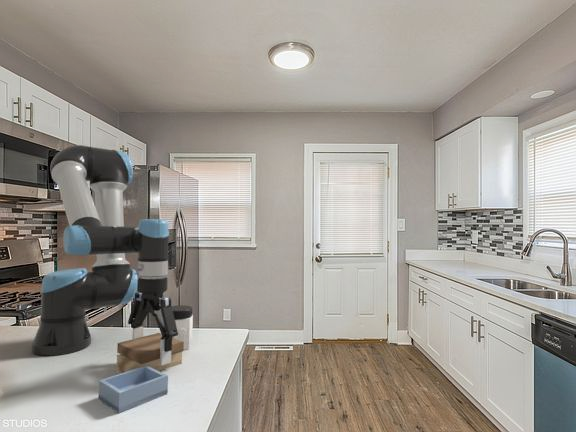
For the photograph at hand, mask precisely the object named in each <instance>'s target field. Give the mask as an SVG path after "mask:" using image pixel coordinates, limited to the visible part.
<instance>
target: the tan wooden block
mask: <svg viewBox="0 0 576 432" xmlns="http://www.w3.org/2000/svg"><path fill="white" fill-rule="evenodd" d="M181 364H183V352H179V353H176V354H173V355H171V363H167V364H164V365H160V359H157V360H154V361H151V362H147V363H144V364H139V363H137V362H135V361H133V360H131V359H129V358H127V357H125V356H123V355H121V354H118V355H116V372H117V373H119V374H121V373H124V372H127V371H130V370H134V369H137V368H140V367H143V366H146V365H147V366H149V367H151V368H153V369H155V370H157V371H159V372H162V371H163V370H167V369H168V368H169V369H170V368H172V367H176V366H178V365H181Z"/></svg>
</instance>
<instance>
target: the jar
mask: <svg viewBox="0 0 576 432" xmlns="http://www.w3.org/2000/svg"><path fill="white" fill-rule="evenodd" d="M171 307H172V311H173V315H174V319H175V323H176V327H177V331H178V335H177V336H174V337H172V338H175V339H177V340H180V341H183V342H184V351H187V350H190V349H191V346H192V345H193V327H194V324H193V320H194V314H193V306H190V305H184V304H183V305H179V304H178V305H171Z"/></svg>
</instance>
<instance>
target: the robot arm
mask: <svg viewBox="0 0 576 432" xmlns="http://www.w3.org/2000/svg"><path fill="white" fill-rule="evenodd" d="M133 167H134V166H133V163H132V160H131V158H130V156H129V155H128V154H127V153H126V152H123V151H120V150H119V151H118V150H116V149H108V148H107V149H106V148H102V147H101V148H100V147H94V146H87V145H81V144H78V145H77V144H76V145H75V144H74V145H71V146H67V147H65V148H63V149H61V150H60V151H59V152H57V153H56V154H55V155H54V157H53V159H52V160H51V162H50V167H49V168H50V169H49V171H50V174H51V175H50V176H51V179H52V180H53V181H54V183H56V184H57V185H58V190H59V194H60V196H61V200H62V204H63V208H64V212H65V215H66V218H67V221H68V226H66V227H65V229H64V231H63V236H62V237H63V238H62V242H63V250H64V252H65V253H66V254H67V255H69V256H72V255H74V256H88V255H89V256H91V255H96V261H95V263H94V264H93V265H92V266H91V271H88V270H87V268H86V267H76V268H67V269H60V270H56V271H52V272H50V273H48V274H45V275H44V277H43V278H42V280H41V289H40V293H41V297H40V299H41V300H40V321H39V322H40V323H39V326H38V329H37V331H36V334H35V336H34V339H33V341H32V344H31V352H32V354H34V355H37V356H59V355H65V354H70V353H75V352H78V351H82V350H84V349H86V348H88V347H89V346H90V345H91V343H92V334H91V332H90V329H89V327H88V323H87V321H86V313H87V312H86V310H92V309H100V308H107V307H118V306H120V305H127V304H130V302H132V301H133V303H132V307H131V309H130V314H129V318H128V321H127V324H128V325H130V327H131V328H132V339H136V338H140V337H144V321H145V320H146V319H147V316H148V314H149V313H150V314H151V315H152V317H154V318H155V322H156V324H157V327H158V329H159V333H161V334H162V337H161V338H160V365H164V364H167V363H171V350H172V337H174V336H177V335H178V331H177V327H176V323H175V319H174V315H173V311H172V307H171V306H172V298H171V297H164V293H166V292H167V290H168V277H167V275H169V238H170V237H169V236H170V232H169V222H168V220H166V219H160V218H159V219H156V218H155V219H153V218H151V219H150V218H142V219H140V220H139V222H138V225H136V226H133V225H131V226H125V224H124V223H125V220H124V217H125V216H124V198H123V196H124V195H123V194H124V193H123V192H124V191H126V189H128V185H129V184H131V182H132V181H133V175H134V168H133ZM88 182H89V185H88ZM90 189H91V190H92V191H93V192H94V195H95V196H94V197H95V199H93V197H92V194H91V191H90ZM94 200H95V203H94ZM133 253H134V254H138V255H137V261H138V262H137V263H138V264H137V271H136V269H133V268H131V262H129V261H128V260H127V259H126V254H133Z"/></svg>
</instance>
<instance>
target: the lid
mask: <svg viewBox="0 0 576 432" xmlns="http://www.w3.org/2000/svg"><path fill="white" fill-rule="evenodd" d="M161 337H162V334H161V332H156V333H153V334H149V335H145V336H144V335H143V337H140V338H136V339H133V338H132V339H129V340H125V341H120V342H117V344H116V345H117V346H116V347H117V349H116V350H117V352H116V353H117V354H118V355H123V356H125V357H127V358H129V359H131V360H133V361H135V362H137V363H139V364H144V363H147V362H151V361H154V360H157V359H160V338H161ZM184 351H185V350H184V342H183V341H180V340H177V339H175V338H172V350H171V355H173V354H176V353H179V352H182V353H183V352H184Z"/></svg>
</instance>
